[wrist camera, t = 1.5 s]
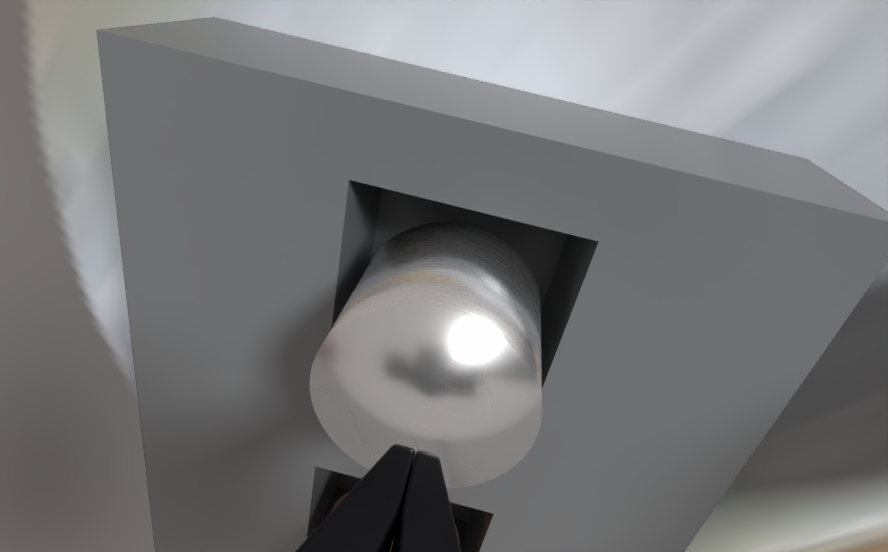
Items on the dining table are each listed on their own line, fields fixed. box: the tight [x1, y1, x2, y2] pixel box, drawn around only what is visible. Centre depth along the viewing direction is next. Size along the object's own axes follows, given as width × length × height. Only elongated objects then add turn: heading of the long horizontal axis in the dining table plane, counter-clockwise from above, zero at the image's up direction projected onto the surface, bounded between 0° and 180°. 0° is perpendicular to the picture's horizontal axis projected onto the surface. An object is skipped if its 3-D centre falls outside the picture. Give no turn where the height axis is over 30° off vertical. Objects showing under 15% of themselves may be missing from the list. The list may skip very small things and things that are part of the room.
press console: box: [97, 17, 888, 552], centre depth 19 cm, size 18×20×5 cm
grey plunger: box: [310, 222, 542, 489], centre depth 13 cm, size 5×5×4 cm
